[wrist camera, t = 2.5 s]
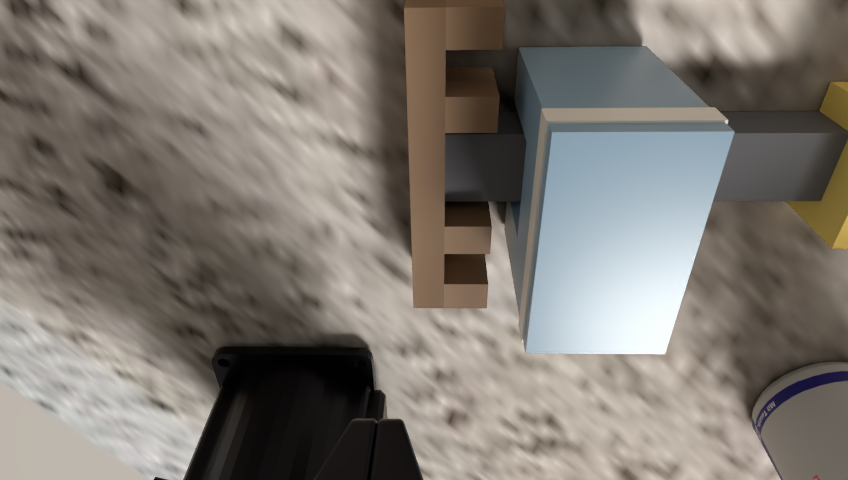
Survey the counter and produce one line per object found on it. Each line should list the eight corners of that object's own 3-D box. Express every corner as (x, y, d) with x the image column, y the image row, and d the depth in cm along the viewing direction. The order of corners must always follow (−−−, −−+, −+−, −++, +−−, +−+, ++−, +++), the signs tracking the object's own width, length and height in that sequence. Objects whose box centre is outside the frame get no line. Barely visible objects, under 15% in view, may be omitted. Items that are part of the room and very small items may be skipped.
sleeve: (503, 230, 20) (523, 355, 15) (517, 45, 16) (549, 129, 11) (610, 230, 20) (666, 355, 15) (648, 44, 16) (738, 129, 11)
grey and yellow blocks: (440, 200, 19) (441, 262, 16) (441, 84, 17) (441, 132, 14) (935, 199, 19) (1024, 263, 16) (1002, 80, 17) (1120, 129, 14)
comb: (416, 264, 21) (413, 307, 19) (408, -13, 16) (404, 7, 14) (482, 264, 21) (486, 308, 19) (496, -14, 16) (505, 6, 14)
